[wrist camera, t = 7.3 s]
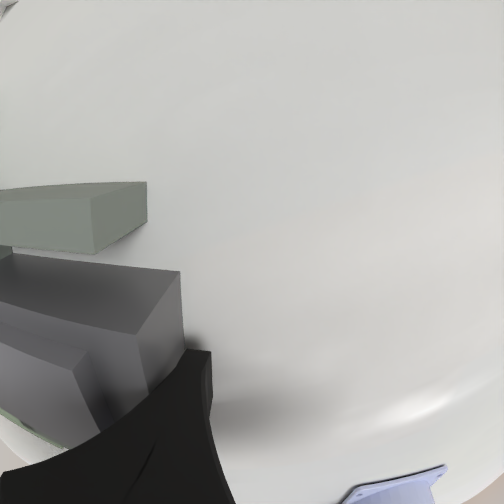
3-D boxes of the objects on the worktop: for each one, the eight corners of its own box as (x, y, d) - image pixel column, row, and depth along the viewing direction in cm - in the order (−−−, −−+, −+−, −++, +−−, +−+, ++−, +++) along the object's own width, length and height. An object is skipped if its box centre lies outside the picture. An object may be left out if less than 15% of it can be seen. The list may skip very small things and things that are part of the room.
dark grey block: (190, 401, 11) (166, 485, 7) (46, 363, 11) (2, 416, 7) (180, 271, 9) (120, 358, 5) (13, 252, 9) (-57, 294, 5)
